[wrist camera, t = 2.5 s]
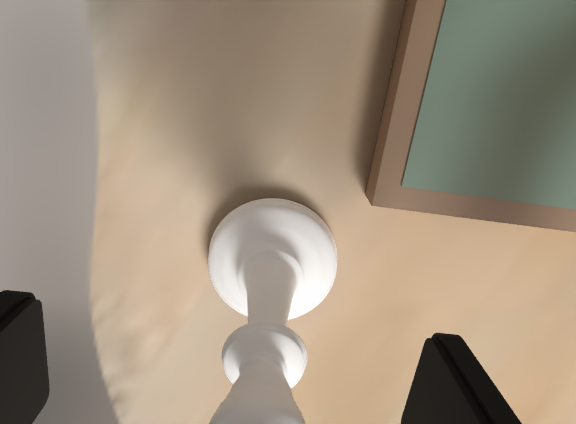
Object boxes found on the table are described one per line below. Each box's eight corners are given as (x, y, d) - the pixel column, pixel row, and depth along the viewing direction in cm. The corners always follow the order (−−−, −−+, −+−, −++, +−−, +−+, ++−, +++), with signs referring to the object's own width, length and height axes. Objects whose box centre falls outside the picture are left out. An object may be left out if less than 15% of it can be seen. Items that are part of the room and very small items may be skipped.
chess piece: (220, 184, 14) (77, 415, 5) (352, 213, 14) (473, 481, 5) (200, 300, 16) (64, 646, 6) (319, 323, 16) (362, 683, 7)
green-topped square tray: (777, -91, 11) (835, -110, 10) (628, 229, 14) (659, 243, 13) (437, -149, 11) (456, -176, 10) (365, 195, 14) (372, 206, 13)
